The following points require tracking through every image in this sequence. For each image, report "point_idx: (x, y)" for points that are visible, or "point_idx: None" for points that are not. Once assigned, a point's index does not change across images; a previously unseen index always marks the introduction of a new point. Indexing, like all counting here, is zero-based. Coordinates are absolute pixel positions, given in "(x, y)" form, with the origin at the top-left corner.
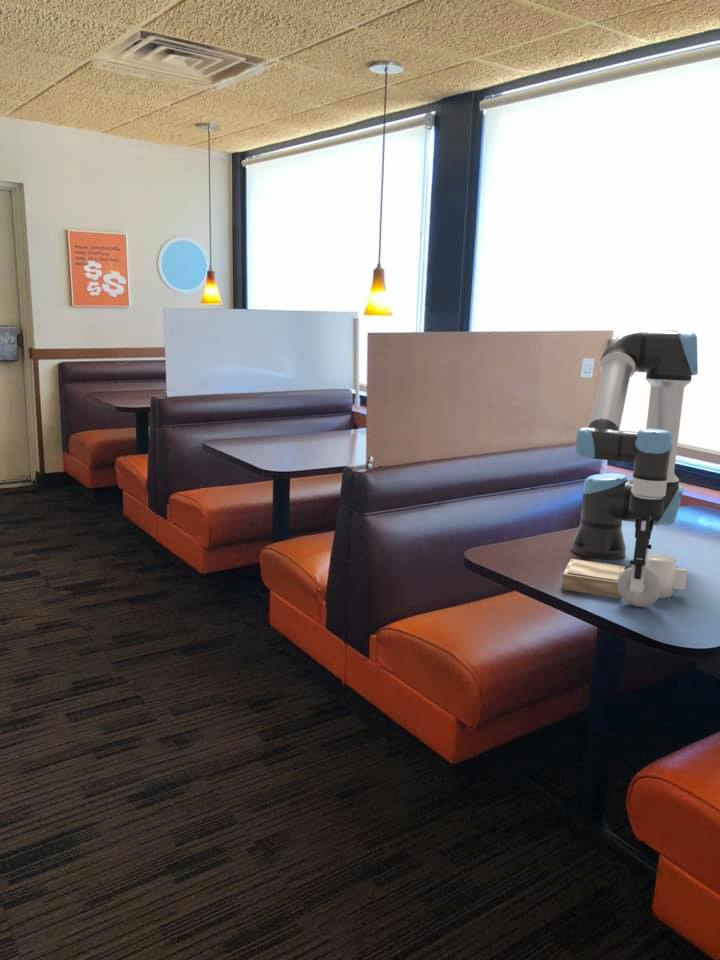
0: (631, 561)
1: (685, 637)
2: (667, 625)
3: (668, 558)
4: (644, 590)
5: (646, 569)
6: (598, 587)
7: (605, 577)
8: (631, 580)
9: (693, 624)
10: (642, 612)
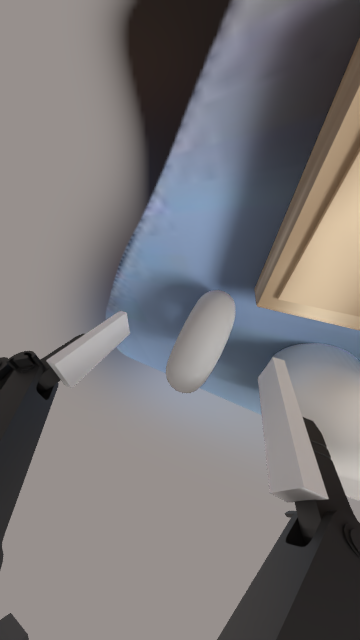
0: (12, 361)
1: (128, 341)
2: (150, 335)
3: (351, 489)
4: (293, 352)
5: (174, 388)
6: (286, 227)
7: (314, 257)
8: (99, 326)
9: None
10: (183, 317)
